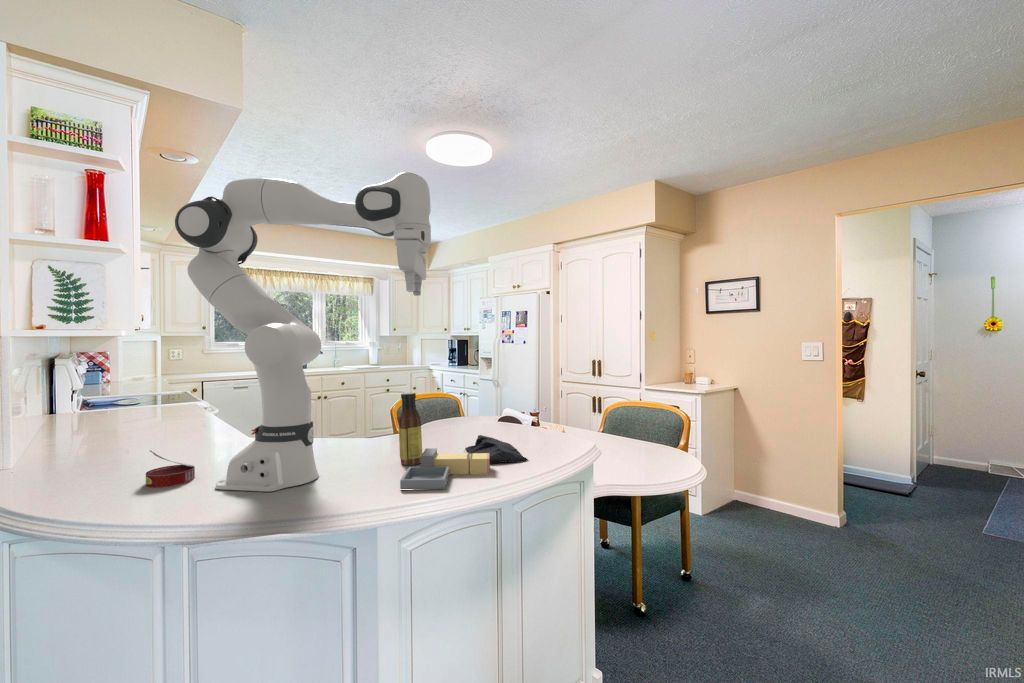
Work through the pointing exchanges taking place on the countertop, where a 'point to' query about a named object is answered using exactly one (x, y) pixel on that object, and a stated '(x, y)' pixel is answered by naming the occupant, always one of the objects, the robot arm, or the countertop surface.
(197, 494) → the countertop surface
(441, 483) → the tray
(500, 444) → the crumpled black cloth
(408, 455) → the sauce bottle
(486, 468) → the stub
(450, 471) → the beige boxy piece
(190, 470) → the canned food
